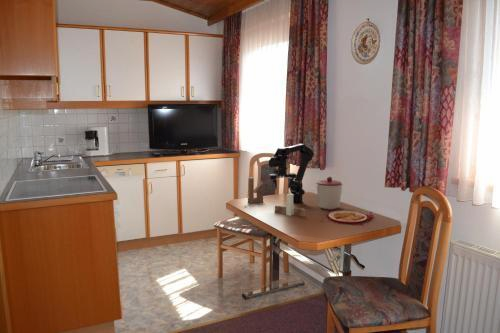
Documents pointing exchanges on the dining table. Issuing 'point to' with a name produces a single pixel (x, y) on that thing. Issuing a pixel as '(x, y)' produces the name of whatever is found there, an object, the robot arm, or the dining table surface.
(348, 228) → the dining table surface
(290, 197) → the sage plank
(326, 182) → the canister
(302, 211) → the walnut slotted plate
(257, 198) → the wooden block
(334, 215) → the plate with food
